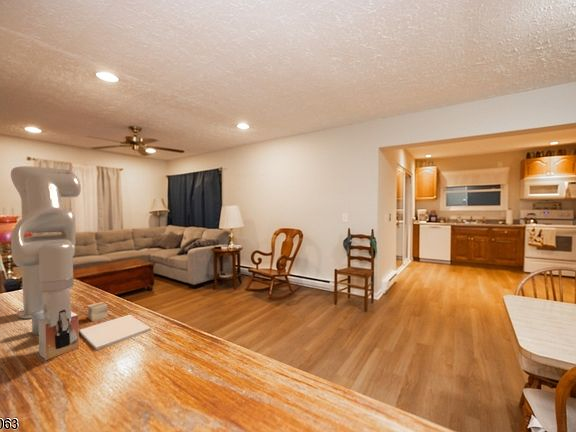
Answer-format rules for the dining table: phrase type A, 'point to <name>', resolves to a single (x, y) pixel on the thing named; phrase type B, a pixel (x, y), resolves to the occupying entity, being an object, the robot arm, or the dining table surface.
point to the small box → (48, 338)
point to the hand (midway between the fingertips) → (59, 342)
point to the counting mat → (113, 331)
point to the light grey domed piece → (36, 321)
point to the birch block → (97, 311)
